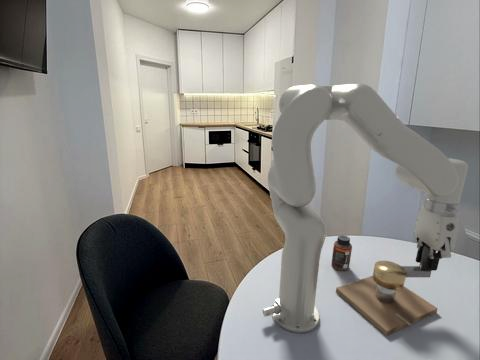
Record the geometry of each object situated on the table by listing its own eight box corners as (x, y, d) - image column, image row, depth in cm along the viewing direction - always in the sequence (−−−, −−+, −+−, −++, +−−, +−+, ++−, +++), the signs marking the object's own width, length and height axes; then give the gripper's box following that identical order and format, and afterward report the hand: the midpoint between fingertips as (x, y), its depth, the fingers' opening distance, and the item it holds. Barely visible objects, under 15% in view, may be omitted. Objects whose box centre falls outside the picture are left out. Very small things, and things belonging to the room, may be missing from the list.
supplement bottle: (350, 272, 96) (354, 243, 93) (332, 270, 97) (335, 241, 94) (347, 262, 102) (351, 234, 99) (330, 260, 103) (333, 232, 100)
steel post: (385, 305, 79) (389, 289, 77) (371, 294, 83) (374, 278, 82) (398, 300, 81) (401, 284, 79) (383, 290, 85) (386, 274, 84)
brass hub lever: (383, 292, 76) (389, 256, 72) (366, 270, 85) (371, 237, 82) (439, 292, 76) (449, 257, 73) (416, 270, 86) (423, 237, 82)
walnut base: (389, 339, 70) (390, 333, 69) (335, 291, 87) (336, 287, 86) (440, 315, 78) (441, 310, 77) (382, 276, 94) (382, 271, 94)
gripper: (480, 218, 66) (461, 284, 72) (432, 194, 82) (419, 250, 87) (449, 218, 66) (433, 284, 71) (407, 194, 82) (396, 250, 87)
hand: (425, 265), depth 79 cm, fingers closed on brass hub lever, 3 cm apart
